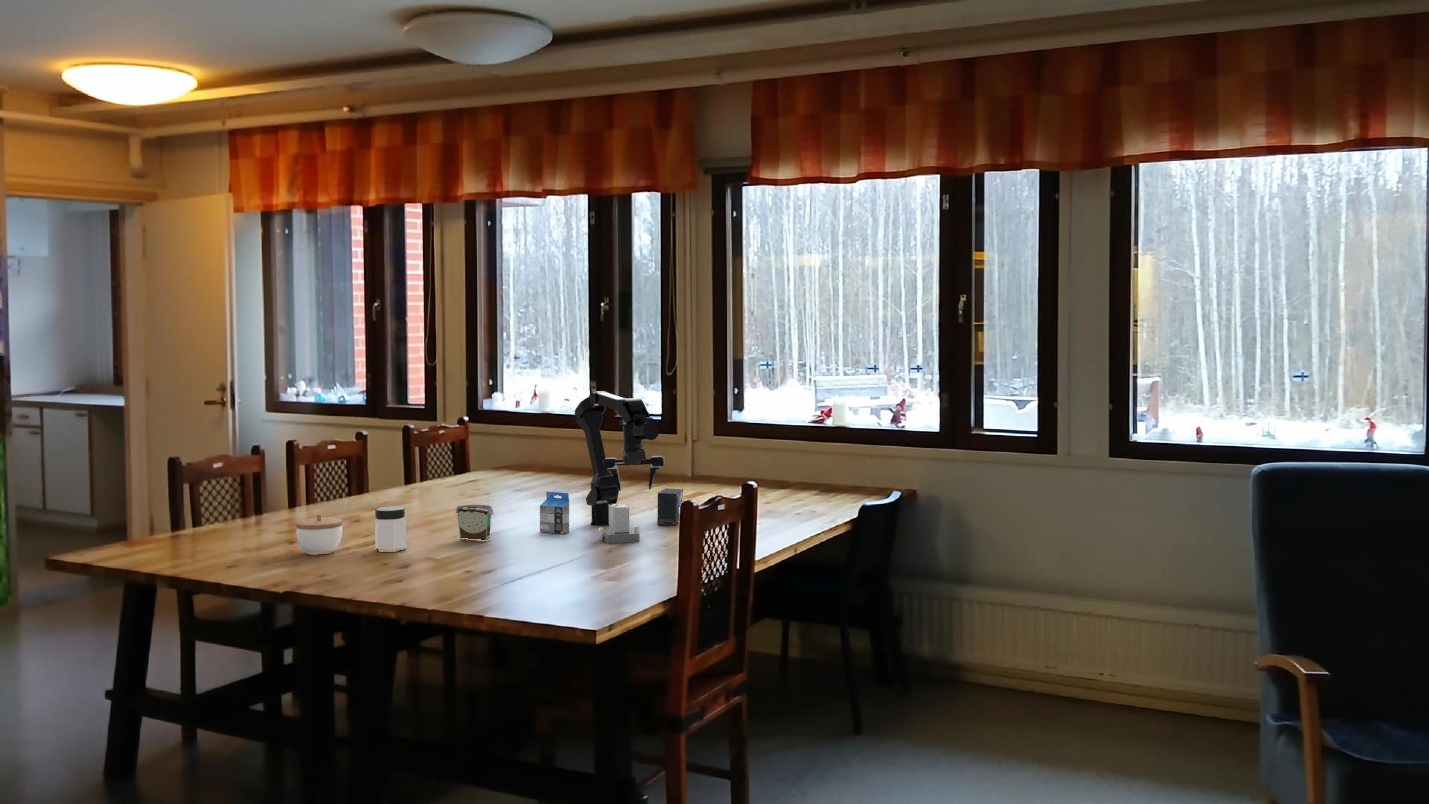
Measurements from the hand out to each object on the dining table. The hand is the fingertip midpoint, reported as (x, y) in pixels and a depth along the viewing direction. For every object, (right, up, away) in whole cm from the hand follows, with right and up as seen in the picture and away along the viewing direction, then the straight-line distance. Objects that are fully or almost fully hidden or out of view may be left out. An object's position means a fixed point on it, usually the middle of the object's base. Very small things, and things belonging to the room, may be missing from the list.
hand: (634, 490), depth 367 cm
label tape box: (-25, -13, +1) cm, 28 cm away
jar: (-68, -16, -25) cm, 74 cm away
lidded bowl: (-87, -16, -29) cm, 93 cm away
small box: (+10, -12, +17) cm, 23 cm away
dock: (-4, -14, -11) cm, 18 cm away
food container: (-46, -14, -9) cm, 49 cm away
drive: (-4, -14, -10) cm, 18 cm away
